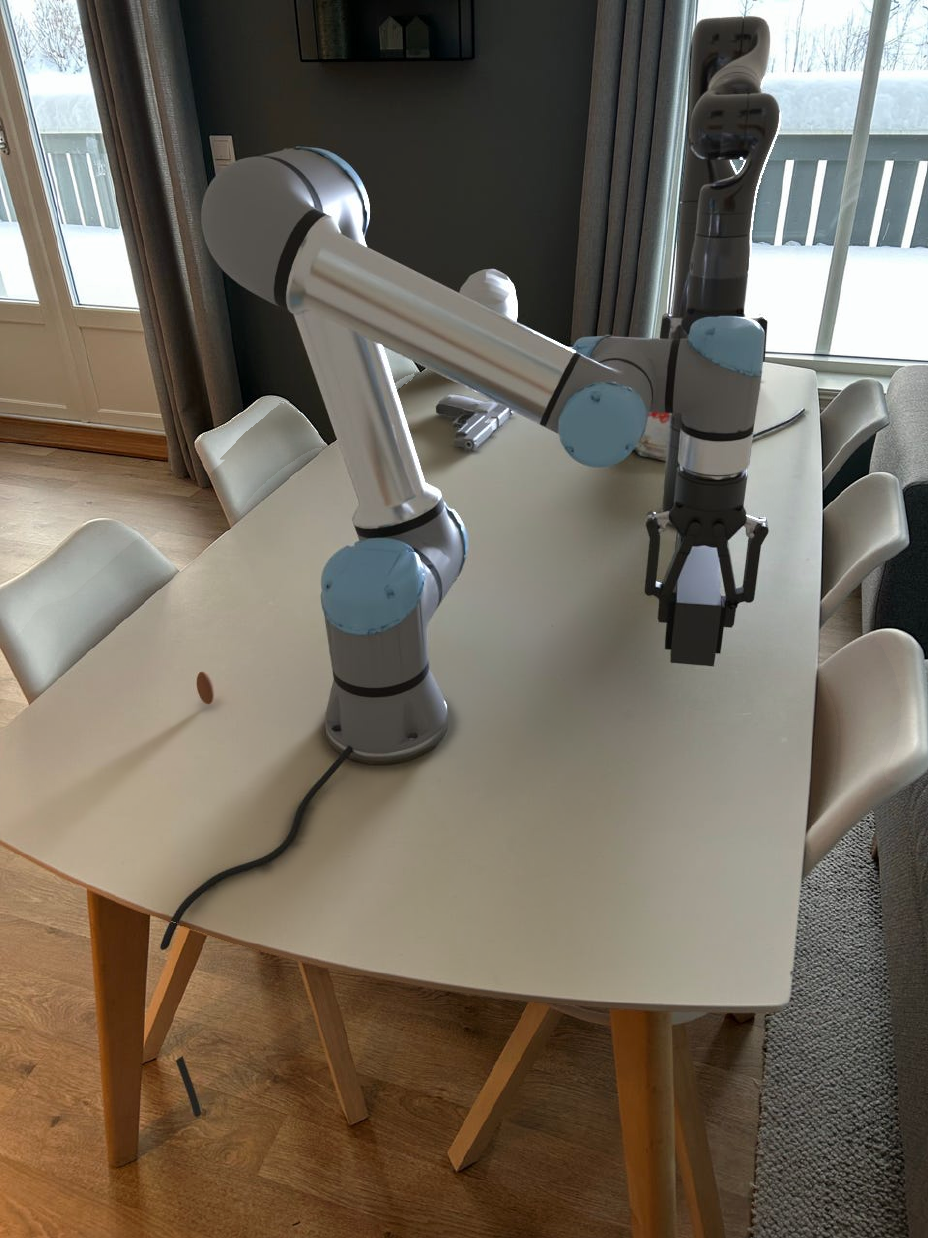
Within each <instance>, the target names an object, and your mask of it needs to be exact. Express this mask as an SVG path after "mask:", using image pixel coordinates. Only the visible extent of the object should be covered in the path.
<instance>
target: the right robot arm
mask: <svg viewBox="0 0 928 1238" xmlns="http://www.w3.org/2000/svg"><path fill="white" fill-rule="evenodd" d="M770 53H771V31H770V26H769V24H768V22H767V20H765V19H764V18H762V17H760V16H755V15H753V16H752V15H749V16H748V15H744V16H741V15H740V16H723V17H709V18H708V17H707V18H702V19H701V20H699V21H697V22H696V25H695V26H694V29H693V31H692V35H691V41H690V47H689V59H688V80H687V83H688V84H687V108H686V109H687V110H686V111H687V112H686V113H687V114H686V137H685V149H684V150H685V152H684V161H683V169H682V176H681V177H682V178H681V186H680V197H679V206H678V218H677V232H676V250H675V251H676V255H675V271H674V284H673V293H672V301H671V307H670V313H668V312H667V313H664V314H663V315H662V316H661V322H660V323H661V324H660V331H659V338H658V339H685V338H687V337H688V334H689V333H690V328H691V325H692V324H693V323H694V322H695V321H697V320H699V319H701V318H705V317H719V316H735V317H742V318H747V319H750V320H753V321H755V322H757V323H758V324H759V325H760V326H761V327H762V328H763V330H764V332H765V344H764V356H763V363H764V362H765V360H766V350H767V349H766V348H767V336H768V324H769V323H768V318H767V315H766V314H764V313H761V314H760V313H759V314H758V316H746V314H745V305H746V298H747V289H748V281H749V272H750V270H751V256H752V230H753V221H754V212H755V205H756V198H757V193H758V189H759V185H760V183H761V178H762V175H763V173H764V170H765V167H766V164H767V162H768V159H769V156H770V154H771V152H772V149H773V147H774V144H775V141H776V139H777V136H778V133H779V130H780V126H781V118H782V117H781V116H782V115H781V114H782V113H781V108H780V105H779V103H778V101H777V99H776V97H774V96H773V95H772V94H770V93H766V92H763V91H762V87H763V85H764V82H765V79H766V74H767V70H768V66H769V60H770ZM733 160H734V161H736V160H743V161H744V162H743V165H742V167H741V168H740V170H738V172H737V170H736V168H735V165H734V164H733V162H732V161H733ZM805 411H806V408H804V407H803V408H801V409H800V410H799V411H797V413H795V414H794V415H793V416H791V417H789V418H788V419H786V420H784V421H782V422H779V423H777V424H774V425H772V426H770V427H767V428H764V429H763V430H761V431H757V432H755V433H753V439H755V438H756V437H759V436H761V435H764V434H767V433H769V432H770V431H773V430H776V429H778V428H781V427H782V426H785V425H787V424H789V423H791V422H792V421H794V420H795V419H796V418H799V416H800V415H802V414H803V413H804V412H805ZM681 423H682V413H670V416H669V428H668V442H667V454H666V461H665V465H664V466H665V468H664V478H663V479H664V480H663V492H662V501H661V502H662V503H661V509H660V513H662V512H666V511H669V508H670V506H671V505H672V504H673V502H674V497H675V486H676V475H677V468H678V467H679V466H680V464H679V463H678V453H679V443H680V432H681ZM667 525H668V526H670V527H671V526H672V527H674V526H673V525H672V523H671V522H669V523H667Z"/></svg>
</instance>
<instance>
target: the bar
mask: <svg viewBox="0 0 928 1238" xmlns="http://www.w3.org/2000/svg"><path fill="white" fill-rule="evenodd" d="M679 538H680V535H679V533H678V532H677V530H676V532H675V542H674V550H675V549H676V547H677V544H678V541H679ZM673 592H676V604H675V614H674V624H673V634H672V644H671V650H670V658H669V659H670V661H669V662H670V663H671V664H678V665H679V664H681V665H690V666H691V665H692V666H704V667H714V666H715V662H716V654H717V653H716V647H717V639H718V631H719V624H720V616H721V608H722V601H721V596H722V585H721V568H720V562H719V557H718V553H717V548H712V547H708V546H705V545H704V546H698V547H695V546H693V547H692V549H691V551H690V554H689V555H688V556H687V559H686V561H685V564H684V566H683V568H682V571H681V573H680V576H679V578H678V580H677V583H676V585H675V588H674V590H673Z"/></svg>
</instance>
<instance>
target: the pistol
mask: <svg viewBox="0 0 928 1238" xmlns="http://www.w3.org/2000/svg"><path fill="white" fill-rule="evenodd" d="M435 413H436V414H438V415H441V416H448V417H451V418H455V420H454V421H453V422H452V428H454V429H457V430H456V431H455V439H454V440H453V441H454V447H458V448H462V449H463V450H464V451H472V452H474V451H476V449H477V448H479V446H480V445H482V444H483V442H485V441H486V440H488V438H489V437H490V436H491V435H492V433H493V432H494V430H496V429H499V428H500V427H501V426H502V425H503V424H504V423H505V422H506V421H507V420H509V418H510V417H511V416H513V415H514V414H515V412H514V411H512V410H510V409H508V408H506V407H504V406H502V405H500V404H498V403H496V402H494V401H492V400H490V399H488V400H480V399H477V398H473V397H471V396H466V395H463V394H455V393H454V394H451V393H450V394H447V395H446V396H444V397H443V398H441V399H440V400H439V401H438V402H437V404H436V406H435Z"/></svg>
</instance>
